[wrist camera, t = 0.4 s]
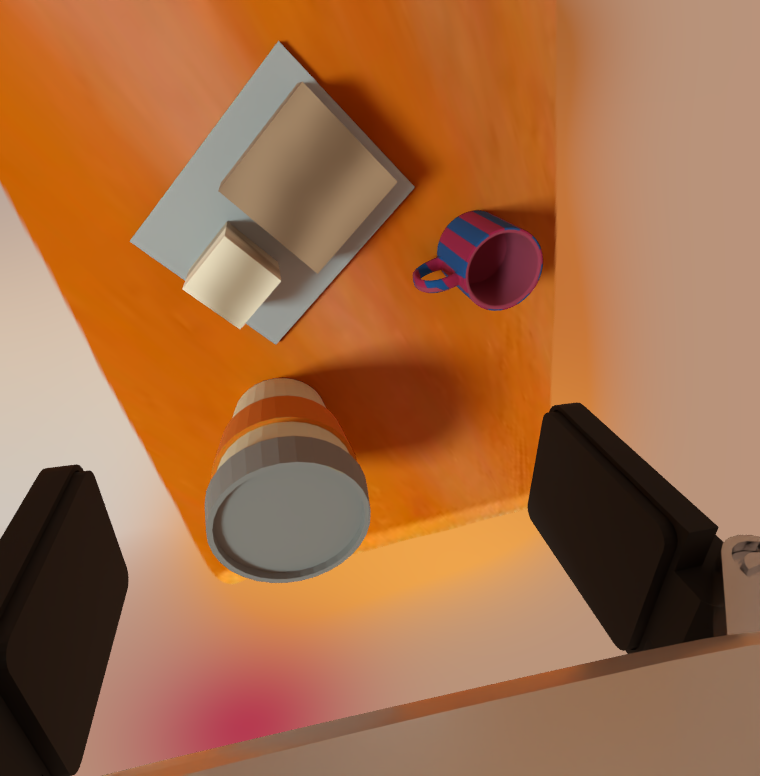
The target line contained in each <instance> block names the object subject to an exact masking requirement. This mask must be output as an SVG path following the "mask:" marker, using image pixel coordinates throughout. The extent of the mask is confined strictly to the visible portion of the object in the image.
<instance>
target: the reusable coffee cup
mask: <svg viewBox="0 0 760 776" xmlns="http://www.w3.org/2000/svg"><path fill="white" fill-rule="evenodd" d="M205 519H206V533H207V539H208V544H209V546H210V548H211V550H212V552H213V554H214V555H215V557H216V558H217V559H218V560H219V561H220V563H221V564H223V565H224V566H225V567H227V568H228V569H229V570H231V571H232V572H234V573H236V574H238V575H240V576H243V577H245V578H249V579H253V580H256V581H261V582H269V583H288V582H294V581H302V580H305V579H309V578H312V577H316V576H318V575H320V574H323V573H325V572H327V571H329V570H331V569H333V568H334V567H336V566H338V565H339V564H341V563H342V562H344V561H345V560H346V559H347V558H348V557H350V556H351V555H352V554H353V553H354V552H355V550H356V549H357V548H358V547H359V546H360V544H361V543H362V541H363V539H364V537H365V536H366V534H367V530H368V527H369V524H370V505H369V497H368V490H367V484H366V479H365V475H364V473H363V471H362V469H361V467H360V465H359V464H358V463H357V461H356V456H355V453H354V451H353V449H352V447H351V445H350V443H349V441H348V439H347V438H346V436H345V434H344V432H343V430H342V428H341V426H340V424H339V422H338V420H337V419H336V418H335V417H334V415H333V414H332V413H331V412H330V411H329V410H328V409H326V407H325V405H324V403H323V401H322V399H321V397H320V396H319V394H318V393H317V392H316V391H315V390H314V389H313V388H311V387H310V386H309V385H307V384H305V383H303V382H301V381H297V380H294V379H288V378H275V379H270V380H266V381H263V382H261V383H258V384H256V385H255V386H253V387H252V388H250V389H249V390H248V391H247V392H246V393H245V394H243V396H242V397H241V398H240V400H239V401H238V404H237V406H236V409H235V412H234V415H233V418H232V419H231V421H230V422H229V424H228V425H227V427H226V428H225V431H224V433H223V436H222V438H221V442H220V445H219V448H218V451H217V454H216V457H215V461H214V464H213V467H212V474H211V481H210V484H209V486H208V489H207V491H206V498H205Z"/></svg>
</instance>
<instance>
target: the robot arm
mask: <svg viewBox="0 0 760 776" xmlns="http://www.w3.org/2000/svg"><path fill="white" fill-rule="evenodd" d="M528 512H529V516H530V519H531V520H532V522H533V524H534V525H535V526H536V528H537V530H538V531H539V532H540V534H541V536H542V537H543V539H544V540H545V541H546V543H547V544H548V546H549V547H550V549H551V550H552V552H553V553H554V555H555V556H556V558H557V559H558V561H559V562H560V564H561V565H562V567H563V568H564V570H565V571H566V573H567V574H568V576H569V577H570V579H571V580H572V582H573V583H574V585H575V586H576V588H577V589H578V591H579V592H580V594H581V595H582V596H583V598H584V600H585V601H586V603H587V604H588V605H589V607H590V608H591V610H592V611H593V613H594V614H595V616H596V617H597V619H598V620H599V622H600V623H601V625H602V626H603V628H604V629H605V631H606V632H607V634H608V635H609V637H610V638H611V640H612V641H613V643H614V644H615V645H616V646H617V647H618V648H619V649H620V650H623V651H624V650H626V652H627V653H628V654H626V655H622V656H618V657H613V658H609V659H604V660H599V661H595V662H590V663H586V664H581V665H577V666H572V667H568V668H563V669H559V670H554V671H550V672H545V673H541V674H536V675H532V676H527V677H523V678H518V679H514V680H509V681H504V682H500V683H496V684H491V685H487V686H483V687H478V688H474V689H469V690H465V691H460V692H456V693H452V694H447V695H443V696H438V697H434V698H430V699H425V700H421V701H417V702H412V703H408V704H404V705H399V706H394V707H390V708H386V709H382V710H377V711H373V712H369V713H364V714H360V715H356V716H351V717H346V718H342V719H338V720H333V721H329V722H325V723H320V724H316V725H312V726H308V727H304V728H299V729H295V730H290V731H287V732H282V733H278V734H273V735H269V736H265V737H260V738H256V739H252V740H248V741H244V742H239V743H235V744H231V745H226V746H222V747H218V748H213V749H209V750H206V751H200V752H197V753H192V754H188V755H184V756H180V757H175V758H171V759H167V760H163V761H159V762H155V763H151V764H147V765H143V766H139V767H135V768H131V769H127V770H123V771H119V772H115V773H111V774H107V775H103V776H760V537H758V536H753V535H737V536H733V537H730V538H728V539H727V540H726V541H725V542H723V541H722V540H721V539H719V538H718V537H717V536H716V535H715V534H716V532H717V530H718V526H717V525H716V524H714V523H713V522H712V521H711V520H710V519H709V518H708V517H707V516H706V515H704V514H703V513H702V512H701V511H700V510H699V509H698V508H697V507H696V506H695V505H693V504H692V503H691V502H690V501H689V500H688V499H687V498H686V497H685V496H683V495H682V494H681V493H680V492H679V491H678V490H677V489H676V488H675V487H673V486H672V485H671V484H670V483H669V482H668V481H667V480H666V479H665V478H663V477H662V476H661V475H660V474H659V473H658V472H657V471H656V470H654V469H653V468H652V467H651V466H650V465H649V464H648V463H647V462H646V461H644V460H643V459H642V458H641V457H640V456H639V455H638V454H637V453H636V452H635V451H633V450H632V449H631V448H630V447H629V446H628V445H627V444H626V443H624V442H623V441H622V440H621V439H620V438H619V437H618V436H617V435H616V434H615V433H613V432H612V431H611V430H610V429H609V428H608V427H607V426H606V425H605V424H604V423H602V422H601V421H600V420H599V419H598V418H597V417H596V416H595V415H593V414H592V413H591V412H590V411H589V410H588V409H587V408H586V407H585V406H583V405H582V404H581V403H571V404H562V405H555V406H553V407H552V408H551V409H550V411H549V413H546V414H545V415H544V417H543V421H542V427H541V432H540V438H539V444H538V449H537V455H536V461H535V466H534V472H533V478H532V483H531V489H530V495H529V500H528ZM127 588H128V571H127V567H126V564H125V561H124V559H123V556H122V553H121V550H120V547H119V544H118V542H117V538H116V536H115V533H114V530H113V527H112V524H111V521H110V519H109V516H108V513H107V510H106V507H105V504H104V501H103V499H102V496H101V493H100V490H99V487H98V485H97V482H96V479H95V476H94V474H93V473H92V472H91V471H83V469H82V468H81V467H80V465H69V466H61V467H53V468H46V469H43V470H42V471H41V472H40V473H39V475H38V477H37V478H36V480H35V482H34V483H33V485H32V487H31V488H30V490H29V492H28V494H27V495H26V497H25V498H24V500H23V502H22V504H21V505H20V507H19V509H18V510H17V512H16V514H15V515H14V517H13V519H12V521H11V522H10V524H9V525H8V527H7V529H6V531H5V532H4V534H3V536H2V537H1V539H0V776H72V775H75V774H76V772H77V771H78V769H79V767H80V764H81V761H82V758H83V754H84V750H85V746H86V743H87V739H88V735H89V731H90V728H91V724H92V720H93V716H94V712H95V708H96V705H97V701H98V697H99V694H100V690H101V686H102V682H103V678H104V675H105V671H106V667H107V664H108V660H109V656H110V652H111V649H112V645H113V641H114V637H115V634H116V630H117V626H118V622H119V619H120V615H121V611H122V607H123V604H124V600H125V596H126V592H127Z"/></svg>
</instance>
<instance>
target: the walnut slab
mask: <svg viewBox="0 0 760 776" xmlns="http://www.w3.org/2000/svg"><path fill="white" fill-rule="evenodd" d="M396 183H397V181H396V180H395V179H394V178H393V177H392V175H391V174H390V173H389V172H388V171H387V170H386V169H385V168H384V167H383V166H382V165H381V164H380V163H379V162H378V161H377V160H376V159H375V158H374V157H373V155H372V154H371V153H370V152H369V151H368V150H367V149H366V148H365V147H364V146H363V145H362V144H361V143H360V142H359V141H358V140H357V139H356V138H355V136H354V135H353V134H352V133H351V132H350V131H349V130H348V129H347V128H346V127H345V126H344V125H343V124H342V123H341V122H340V121H339V120H338V119H337V117H336V116H335V115H334V114H333V113H332V112H331V111H330V110H329V109H328V108H327V107H326V106H325V105H324V104H323V103H322V102H321V101H320V100H319V99H318V97H317V96H316V95H315V94H314V93H313V92H312V91H311V90H310V89H309V88H308V87H307V86H306V85H305V84H304V83H303V82H299V83H297V84H296V86H295V87H294V88H293V90H292V91H291V92H290V93H289V95H288V96H287V97H286V99H285V100H284V101H283V103H282V104H281V105H280V106H279V108H278V109H277V110H276V112H275V113H274V114H273V116H272V117H271V118H270V119H269V121H268V122H267V123H266V125H265V126H264V127H263V129H262V130H261V131H260V132H259V134H258V135H257V136H256V138H255V139H254V140H253V142H252V143H251V144H250V145H249V147H248V148H247V149H246V151H245V152H244V153H243V155H242V156H241V157H240V158H239V160H238V161H237V162H236V164H235V165H234V166H233V167H232V169H231V170H230V171H229V173H228V174H227V175H226V177H225V178H224V179H223V180H222V182H221V184H220V187H219V190H218V191H219V192H220V193H221V194H222V195H224V196H225V197H226V198H227V199H228V200H230V201H231V202H232V203H233V204H234V205H236V206H237V207H238V208H239V209H240V210H242V211H243V212H244V213H245V214H246V215H248V216H249V217H250V218H251V219H252V220H254V221H255V222H256V223H257V224H258V225H260V226H261V227H262V228H263V229H264V230H266V231H267V232H268V233H269V234H270V235H272V236H273V237H274V238H275V239H276V240H278V241H279V242H280V243H281V244H282V245H284V246H285V247H286V248H287V249H288V250H290V251H291V252H292V253H293V254H294V255H296V256H297V257H298V258H299V259H300V260H302V261H303V262H304V263H305V264H306V265H308V266H309V267H310V268H311V269H312V270H314V271H315V272H316V273H317V274H318V273H319V272H320V271H321V270H322V268H323V267H324V266H325V265H326V264H327V263H328V261H329V260H330V259H331V258H332V257H333V256H334V255H335V253H336V252H337V251H338V250H339V249H340V248H341V247H342V245H343V244H344V243H345V242H346V241H347V240H348V239H349V237H350V236H351V235H352V234H353V233H354V232H355V230H356V229H357V228H358V227H359V226H360V225H361V224H362V222H363V221H364V220H365V219H366V218H367V217H368V216H369V214H370V213H371V212H372V211H373V210H374V209H375V207H376V206H377V205H378V204H379V203H380V202H381V201H382V199H383V198H384V197H385V196H386V195H387V194H388V193H389V191H390V190H391V189H392V188H393V187H394V186H395V185H396Z"/></svg>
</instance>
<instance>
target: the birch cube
mask: <svg viewBox="0 0 760 776" xmlns="http://www.w3.org/2000/svg"><path fill="white" fill-rule="evenodd" d="M280 282H281V276H280V270H279V264H278V262H277V261H276V260H275V259H274V258H272V257H271V256H270V255H269V254H267V253H266V252H265V251H264V250H262V249H261V248H260V247H259V246H257V245H256V244H255V243H254V242H252V241H251V240H250V239H249V238H248V237H246V236H245V235H244V234H243V233H241V232H240V231H239V230H238V229H236V228H235V227H234V226H233V225H231V224H230V223H229V222H228V221H227V222H226V223H225V225H224V226H223V227H222V228H221V230H220V231H219V232H218V233H217V235H216V236H215V237H214V238H213V240H212V241H211V242H210V244H209V245H208V246H207V247H206V249H205V250H204V251H203V252H202V254H201V255H200V256H199V257H198V259H197V260H196V261H195V263H194V264H193V265H192V266H191V268H190V269H189V271H188V274H187V277H186V280H185V283H184V286H183V290H184V291H186V292H187V293H188V294H190V295H191V296H193V297H194V298H196V299H197V300H199V301H200V302H201V303H203V304H204V305H206V306H207V307H209V308H210V309H211V310H213V311H214V312H216V313H217V314H219V315H220V316H222V317H223V318H224V319H226V320H227V321H229V322H230V323H232V324H233V325H234V326H236V327H237V328H239V329H241V328H242V327H243V325H244V324H245V323H246V322H247V321H248V320H249V318H250V317H251V316H252V315H253V314H254V313H255V311H256V310H257V309H258V308H259V307H260V306H261V304H262V303H263V302H264V301H265V300H266V299H267V297H268V296H269V295H270V294H271V293H272V291H273V290H274V289H275V288H276V287H277V286H278V284H279V283H280Z"/></svg>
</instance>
